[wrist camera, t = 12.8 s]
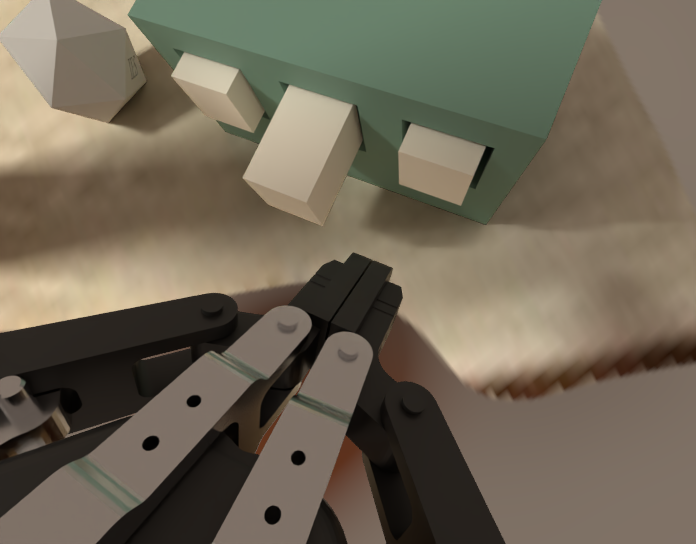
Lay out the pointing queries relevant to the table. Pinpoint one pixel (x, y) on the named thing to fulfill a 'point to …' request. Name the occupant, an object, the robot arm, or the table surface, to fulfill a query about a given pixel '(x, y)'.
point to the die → (74, 57)
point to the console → (397, 71)
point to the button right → (438, 163)
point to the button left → (219, 91)
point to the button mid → (305, 154)
